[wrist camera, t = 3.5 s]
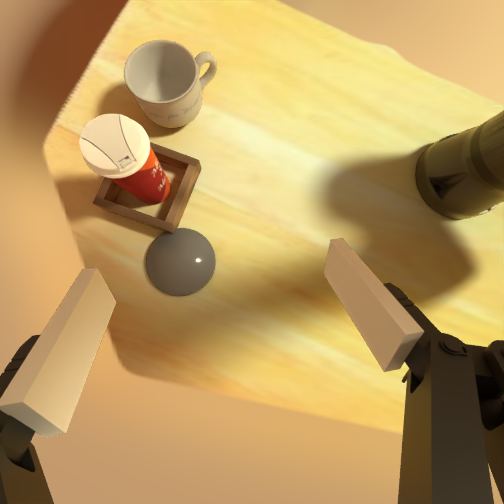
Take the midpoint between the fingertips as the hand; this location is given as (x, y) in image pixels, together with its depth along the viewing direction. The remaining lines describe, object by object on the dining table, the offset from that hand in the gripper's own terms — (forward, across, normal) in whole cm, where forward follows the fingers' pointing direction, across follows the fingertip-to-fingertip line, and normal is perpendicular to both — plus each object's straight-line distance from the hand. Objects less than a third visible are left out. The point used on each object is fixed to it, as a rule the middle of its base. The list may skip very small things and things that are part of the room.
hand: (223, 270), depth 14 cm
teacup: (+40, -4, +5) cm, 41 cm away
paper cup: (+30, -10, -6) cm, 33 cm away
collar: (+30, -10, -6) cm, 33 cm away
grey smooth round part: (+21, -7, -15) cm, 27 cm away
